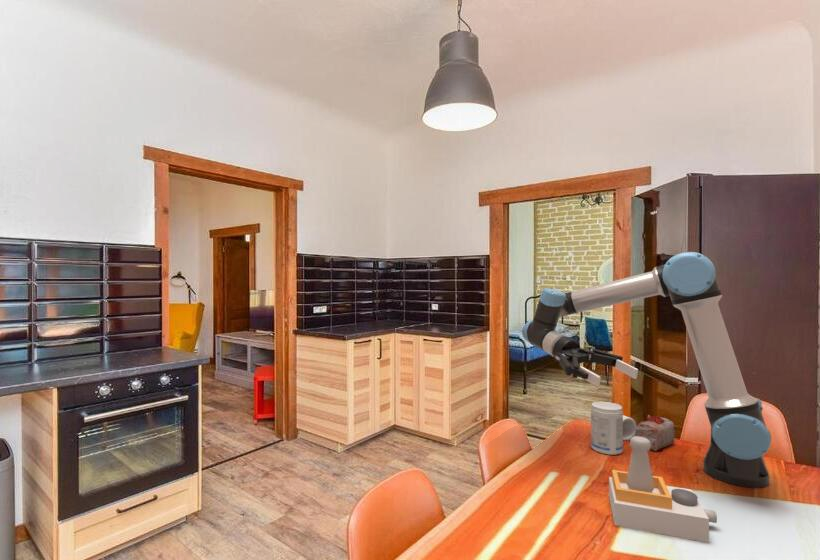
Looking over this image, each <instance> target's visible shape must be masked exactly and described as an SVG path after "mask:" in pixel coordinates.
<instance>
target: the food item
mask: <svg viewBox="0 0 820 560" xmlns="http://www.w3.org/2000/svg"><path fill="white" fill-rule="evenodd" d="M635 431H636V432H635V435H634V436H639V437H644V438H647V439H648V440H649V441H650V443H651V447H650V450H651V451H653V452H657V451H659V450H661V449H662V448H665V447H668V446H670V445H673V444H675V441H676V440H675V422H673V421H672V420H670V419H668V418H665V417H660V416H651V415H650V414H647V418H646V421H644V420H643V421H640V422H639V423H638V424H636V428H635ZM650 450H649V451H650Z"/></svg>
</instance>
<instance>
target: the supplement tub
mask: <svg viewBox="0 0 820 560" xmlns="http://www.w3.org/2000/svg"><path fill="white" fill-rule="evenodd" d="M623 415H624V412H623V406H622V405H620V404H619V403H614V402H610V401H593V402H592V403H591V407H590V446H591V448H592V450H593V451H595V452H598V453H600V454H604V455H610V456H611V455H612V456H614V455H615V456H616V455H620V454H622V453H623V451H624V440H623Z"/></svg>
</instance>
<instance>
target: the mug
mask: <svg viewBox="0 0 820 560" xmlns="http://www.w3.org/2000/svg"><path fill="white" fill-rule="evenodd" d="M636 427H637V423H636V421H635V420H634V418H632V417H629V416H626V415H625V414H623V441H626V440H627V441H630V440H631V438H632V437H634V436H635V432H636V431H635V428H636Z"/></svg>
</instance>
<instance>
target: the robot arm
mask: <svg viewBox="0 0 820 560" xmlns="http://www.w3.org/2000/svg"><path fill="white" fill-rule="evenodd" d="M713 263H714V262H712V261H711V260H710V258H708V257H707V256H706V255H705V254H701V253H700V252H694V251H686V252H685V251H684V252H680V253H678V254H674V255H673V256H672V257H670V258H669V259H668V260H667V261H666V262H665V264H662V265H659V266H655V267H654V268H653V269H652V271H647V272H643V273H639V274H636V275H632V276H628V277H625V278H620V279H616V280H613V281H609V282H605V283H604V282H603V283H601V284H597V285H592V286H588V287H585V288H580V289H577V290H573V291H570V292H569V291H568V292H562V291H560V290H557V289H553V288H549V287H545V288H543V289H542V291H541V293H540V296H539V298H538V304H537V306H536V310H535V313H534V315H533V316H534V317H533V319H530V320H528V321H527V322H526V323H525V324H524V325H523V327H522V329H521V335H522V337H523V339H524V340H525V341H526V342H528V343H529V344H531V345H532V346H534V347H536V348H537V349H540V350H542V351H543V352H545V353H547V354H548V355H550V356H551V357H553V358H555V360H554V361H555V362H557V363H558V364H559V366H560V367H561V369H562V371H563V372H564V373H565V375H566V376H571V375H572V378H574V379H578V377H580V378H581V379H583V380H585V381H586V382H588V383H590V384H591V385H593V386H595V387H597V388H599V387H600V385H601V379H602V378H601V376H600V375H599V374H596V373H594V372H593V371H592V370H590V369H587V368H586V367H584V366H582V365H580V366H579V364H583V363H586V364H587V363H588V364H591V365H592V364H594V363H595V364H599V365H604V366H609V367H613V368H614V369H615V370H617V371H619V372H620V373H623V374H625V375H627V376H628V377H630V378H632V379H634V380H636V379H638V373H639V369H638V368H636V367H634V366H633V365H631V364H628V363H626V362H624V361H623V358H624V357H623V356H620V355H618V354H614V353H611V352H607V351H604V350H600V349H596V348H594V347H591V346H589V347H587V348H588V349H585V348H583V347H580V346H581V345H579V343H578V341H576V340H575V339H574V338H571V337H569V336H567V335H565V334H564V333H561V332H559V331H558V330H556V328H557V325H558V322H559V319H560V317H568V316H570V315H575V314H578V313H583V312H586V311H591V310H596V309H601V308H605V307H611V306H613V305H614V306H615V305H619V304H624V303H629V302H632V301H638V300H641V299H646V298H651V297H654V296H662V297H663V298H667V297H670V301H671V303H672V306H673V307H675V308H676V309H678V310H679V311H680V312H681V314H682V315H681V316H682V318H683V321H684V325H685V326H686V330H687V333H688V336H689V339H690V343H691V347H692V349H693V353H694V354H695V359H696V361H697V364H698V367H699V368H698V369H699V371H700V374H701V378H702V381H703V384H704V387H705V389H706V393H707V396H708V398H707V399H706V401H705V402H704V403H703V404H704V408H705V411H706V415H707V418H708V421H709V425H710V444H709V446H708V449H707V451H706V453H705V456H704V458H703V462H702V469H703V470H702V471H704V473H706V474H707V475H709V476H711V478H714V479H717V480H719V481H721V482H724V483H728V484H731V485H735V486H740V487H746V488H765V486H766V487H768V486H769V485H770V474H769V470H768V467H767V465H766V461H765V460H764V457H763V456H764V455H766V453H767V452H768V451H769V449H770V448H771V443H772V436H771V435H772V434H771V432H770V430H769V429H768V427H767V425H766V422H765V418H764V416H763V412H762V411H763V409H764V408H763V404H762V400H761V399H760V398H757V397H754V396H752V395H751V394H749V393H748V391H747V388H746V385H745V381H744V379H743V376H742V372H741V369H740V366H739V363H738V359H737V356H736V354H735V351H734V348H733V345H732V342H731V340H730V336H729V333H728V329H727V327H726V324H725V320H724V318H723V315H722V312H721V309H720V306H719V302H720V301H721V299H722V297H723V294H722V291H721V287H720V285H719V282H718V278H717V275H716V268H715V265H714V264H713ZM767 485H768V486H767Z"/></svg>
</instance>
